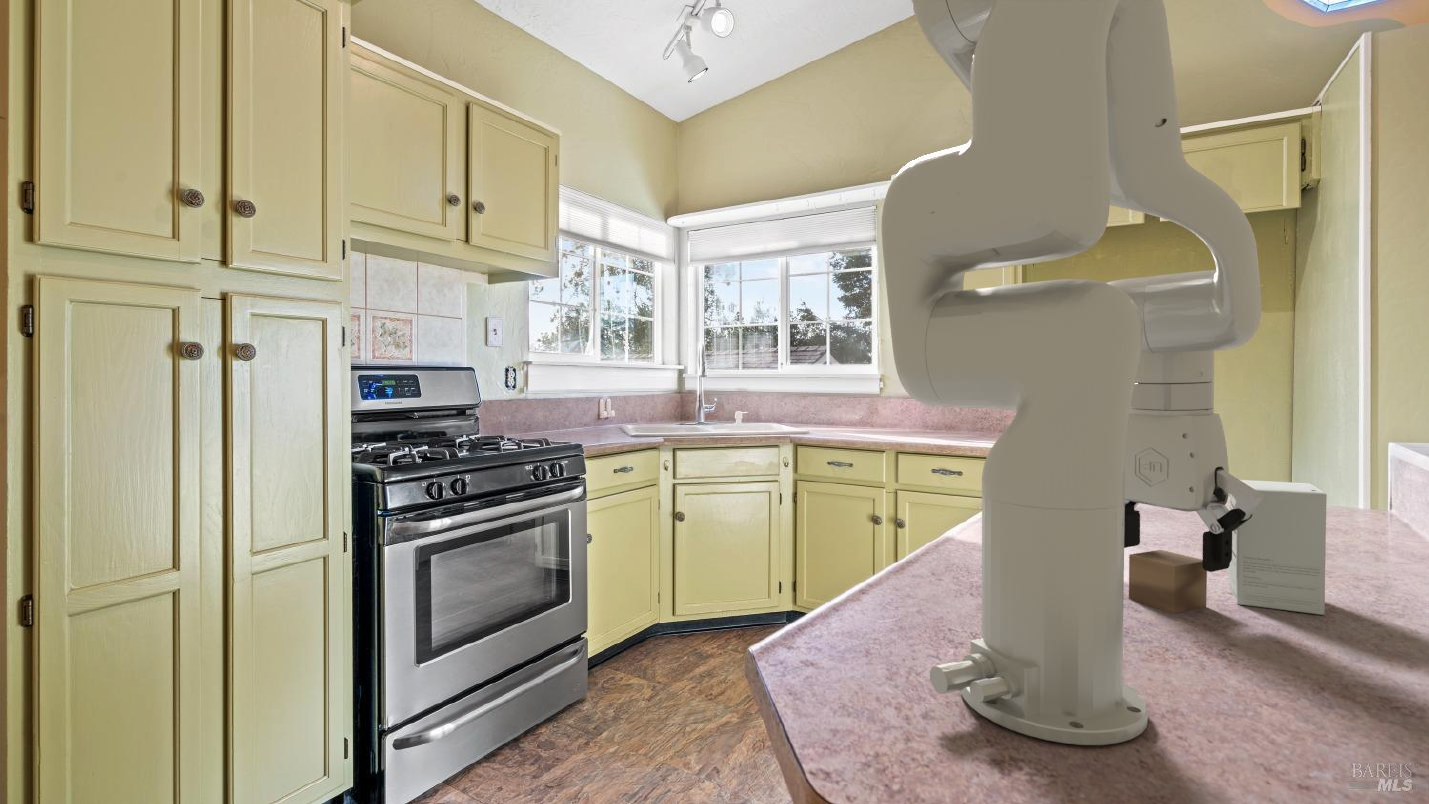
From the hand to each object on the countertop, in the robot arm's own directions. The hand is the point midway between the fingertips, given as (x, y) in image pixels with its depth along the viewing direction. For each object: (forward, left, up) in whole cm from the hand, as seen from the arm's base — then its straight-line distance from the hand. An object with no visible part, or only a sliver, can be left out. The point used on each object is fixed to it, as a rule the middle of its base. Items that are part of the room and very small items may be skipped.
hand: (1169, 557), depth 74 cm
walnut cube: (-1, 0, -5) cm, 5 cm away
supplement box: (+10, -4, -5) cm, 12 cm away
